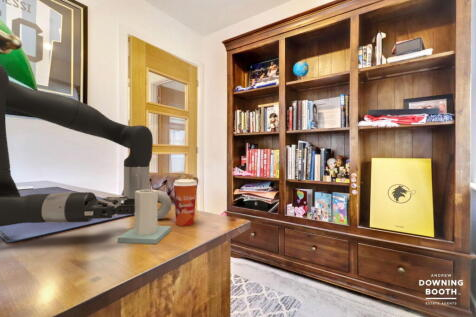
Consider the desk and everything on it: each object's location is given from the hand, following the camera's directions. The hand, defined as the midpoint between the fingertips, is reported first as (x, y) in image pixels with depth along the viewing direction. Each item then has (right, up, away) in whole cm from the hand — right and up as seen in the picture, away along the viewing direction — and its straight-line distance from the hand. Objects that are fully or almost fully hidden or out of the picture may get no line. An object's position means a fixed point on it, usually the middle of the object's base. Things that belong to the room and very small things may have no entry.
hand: (139, 205), depth 59 cm
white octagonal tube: (+2, -7, 0) cm, 7 cm away
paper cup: (+10, -9, +12) cm, 18 cm away
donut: (-1, -8, +16) cm, 18 cm away
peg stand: (+2, -8, 0) cm, 9 cm away
